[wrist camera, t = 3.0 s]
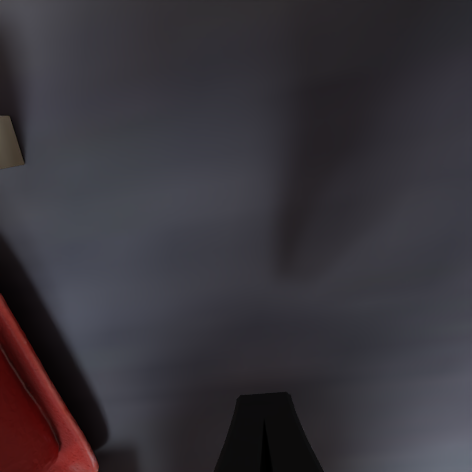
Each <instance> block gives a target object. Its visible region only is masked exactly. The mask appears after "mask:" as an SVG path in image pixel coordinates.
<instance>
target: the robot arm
mask: <svg viewBox="0 0 472 472" xmlns="http://www.w3.org/2000/svg"><path fill="white" fill-rule="evenodd" d="M214 472H324V471H323V469H322V467H321V465H320V463H319V461H318V460H317V458H316V456H315V454H314V452H313V450H312V448H311V446H310V444H309V442H308V440H307V438H306V435H305V433H304V431H303V429H302V426H301V424H300V422H299V419H298V417H297V414H296V411H295V408H294V405H293V402H292V399H291V395H290V394H288V393H287V392H280V393H266V394H253V395H241V396H240V397H239V398H238V399H237V402H236V407H235V411H234V415H233V418H232V422H231V425H230V428H229V431H228V434H227V437H226V440H225V443H224V446H223V449H222V451H221V454H220V456H219V459H218V462H217V464H216V467H215V470H214Z"/></svg>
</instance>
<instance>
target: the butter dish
mask: <svg viewBox="0 0 472 472" xmlns="http://www.w3.org/2000/svg"><path fill="white" fill-rule="evenodd" d="M98 469H99V464H98V462H97V459H96V457H95V455H94V453H93V450H92V449H91V446H90V444H89V443H88V441H87V439H86V437H85V435H84V433H83V431H82V430H81V429H80V427H79V426H78V424H77V422H76V421H75V419H74V418H73V416H72V414H71V413H70V411H69V410H68V408H67V406H66V405H65V403H64V401H63V400H62V398H61V396H60V395H59V393H58V391H57V390H56V388H55V386H54V384H53V383H52V381H51V380H50V378H49V376H48V374H47V372H46V371H45V369H44V367H43V366H42V364H41V361H40V359H39V358H38V357H37V355H36V353H35V351H34V349H33V347H32V346H31V344H30V343H29V341H28V339H27V338H26V335H25V333H24V332H23V331H22V329H21V327H20V325H19V324H18V322H17V320H16V318H15V317H14V315H13V314H12V312H11V310H10V308H9V307H8V305H7V303H6V301H5V299H4V298H3V296H2V295H1V293H0V472H98Z"/></svg>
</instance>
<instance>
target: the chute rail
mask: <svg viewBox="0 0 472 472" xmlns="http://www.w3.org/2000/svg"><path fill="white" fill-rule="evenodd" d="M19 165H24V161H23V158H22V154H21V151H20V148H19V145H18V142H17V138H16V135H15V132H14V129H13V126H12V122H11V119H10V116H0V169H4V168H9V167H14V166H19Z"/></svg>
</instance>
